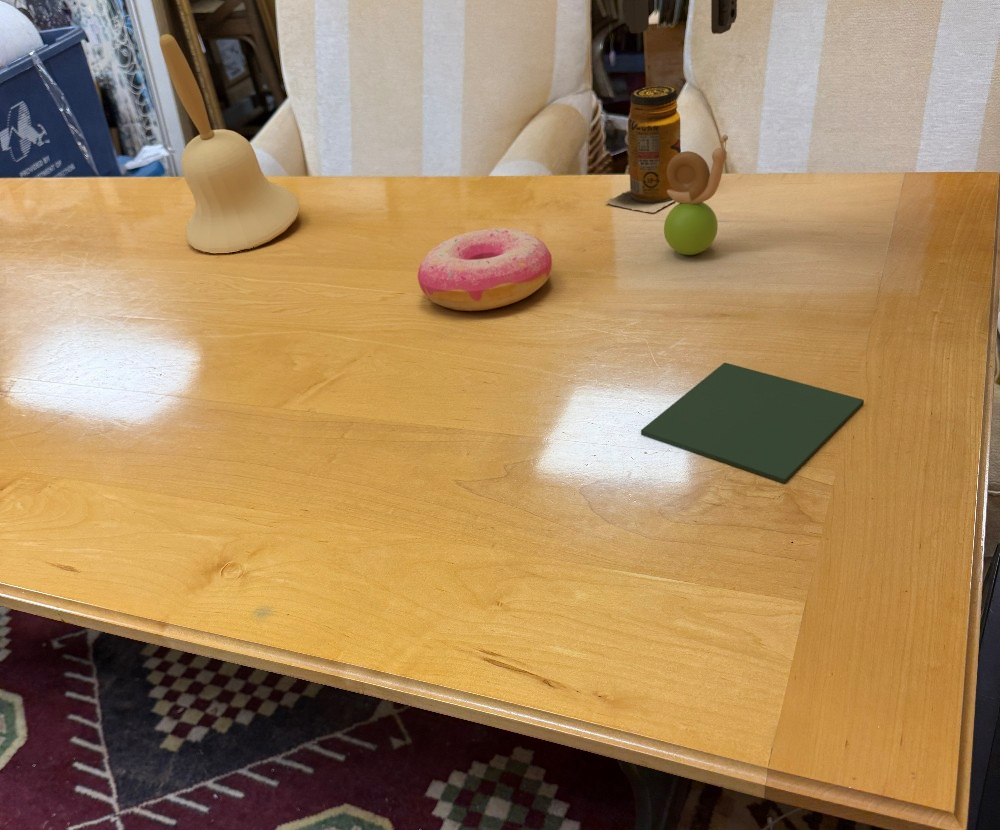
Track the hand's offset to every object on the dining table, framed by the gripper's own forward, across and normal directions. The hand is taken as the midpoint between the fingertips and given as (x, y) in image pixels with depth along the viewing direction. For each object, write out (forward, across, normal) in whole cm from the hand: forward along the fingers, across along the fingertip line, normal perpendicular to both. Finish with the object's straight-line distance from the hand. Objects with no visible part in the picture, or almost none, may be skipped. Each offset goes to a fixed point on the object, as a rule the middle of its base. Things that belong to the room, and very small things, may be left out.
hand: (678, 31), depth 81 cm
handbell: (+22, +57, +14) cm, 63 cm away
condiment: (+22, +14, -15) cm, 30 cm away
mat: (+22, -20, +23) cm, 38 cm away
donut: (+22, +14, +14) cm, 30 cm away
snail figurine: (+22, 0, -3) cm, 22 cm away
